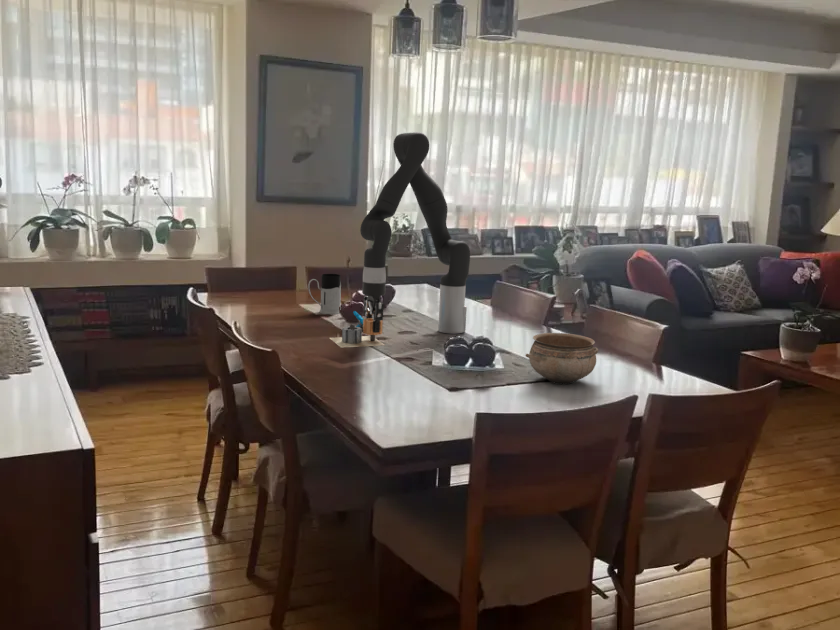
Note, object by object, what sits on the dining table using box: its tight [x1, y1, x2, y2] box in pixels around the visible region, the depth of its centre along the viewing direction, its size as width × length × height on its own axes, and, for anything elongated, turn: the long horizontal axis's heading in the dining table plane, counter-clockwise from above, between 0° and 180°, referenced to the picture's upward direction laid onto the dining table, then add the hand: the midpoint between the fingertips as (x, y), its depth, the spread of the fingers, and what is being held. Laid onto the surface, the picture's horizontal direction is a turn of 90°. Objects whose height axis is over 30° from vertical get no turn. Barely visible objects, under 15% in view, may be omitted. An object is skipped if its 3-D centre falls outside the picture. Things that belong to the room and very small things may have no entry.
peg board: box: [329, 323, 385, 349], centre depth 252 cm, size 15×14×7 cm
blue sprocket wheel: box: [352, 310, 365, 328], centre depth 272 cm, size 11×6×10 cm
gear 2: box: [362, 318, 384, 336], centre depth 253 cm, size 6×6×4 cm
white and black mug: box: [307, 273, 342, 315], centre depth 303 cm, size 9×14×15 cm, turn 124°
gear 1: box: [341, 326, 363, 344], centre depth 251 cm, size 6×6×4 cm
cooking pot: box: [524, 332, 599, 385], centre depth 218 cm, size 25×19×12 cm
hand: (372, 330), depth 253 cm, fingers closed on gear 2, 6 cm apart
